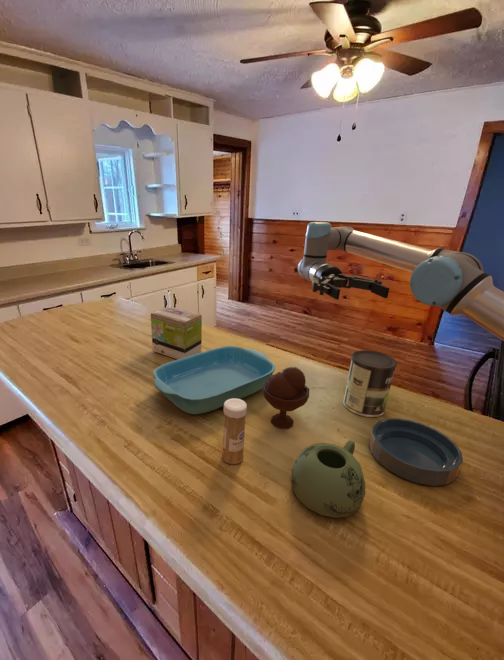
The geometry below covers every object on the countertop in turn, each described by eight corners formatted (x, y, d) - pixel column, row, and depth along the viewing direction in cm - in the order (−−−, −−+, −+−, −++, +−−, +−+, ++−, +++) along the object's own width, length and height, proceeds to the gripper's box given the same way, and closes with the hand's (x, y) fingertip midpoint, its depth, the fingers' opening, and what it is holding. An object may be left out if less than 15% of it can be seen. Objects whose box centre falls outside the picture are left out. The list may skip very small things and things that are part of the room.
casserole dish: (236, 358, 115) (237, 339, 112) (287, 385, 99) (290, 363, 96) (139, 392, 94) (137, 370, 92) (183, 434, 78) (183, 408, 75)
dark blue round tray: (437, 438, 77) (442, 424, 76) (472, 494, 63) (479, 477, 61) (362, 427, 81) (365, 414, 79) (378, 478, 66) (383, 462, 65)
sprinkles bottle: (238, 468, 68) (241, 413, 63) (218, 460, 70) (219, 406, 65) (246, 454, 72) (250, 401, 67) (227, 447, 74) (229, 395, 69)
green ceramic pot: (341, 538, 54) (350, 499, 51) (275, 491, 63) (279, 454, 60) (380, 486, 64) (390, 450, 61) (319, 451, 73) (325, 418, 70)
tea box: (151, 352, 119) (149, 312, 114) (169, 342, 127) (168, 305, 121) (185, 363, 111) (184, 321, 106) (202, 352, 119) (202, 313, 113)
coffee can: (387, 403, 91) (399, 356, 85) (381, 422, 83) (394, 372, 77) (347, 391, 96) (355, 346, 90) (338, 409, 88) (347, 360, 82)
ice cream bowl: (288, 405, 89) (294, 354, 83) (314, 431, 79) (322, 375, 74) (252, 412, 86) (256, 360, 80) (274, 440, 76) (280, 383, 71)
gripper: (360, 286, 110) (403, 306, 90) (286, 288, 107) (315, 309, 87) (364, 263, 107) (410, 278, 87) (289, 264, 104) (319, 280, 84)
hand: (362, 293), depth 87 cm, fingers open, 13 cm apart
